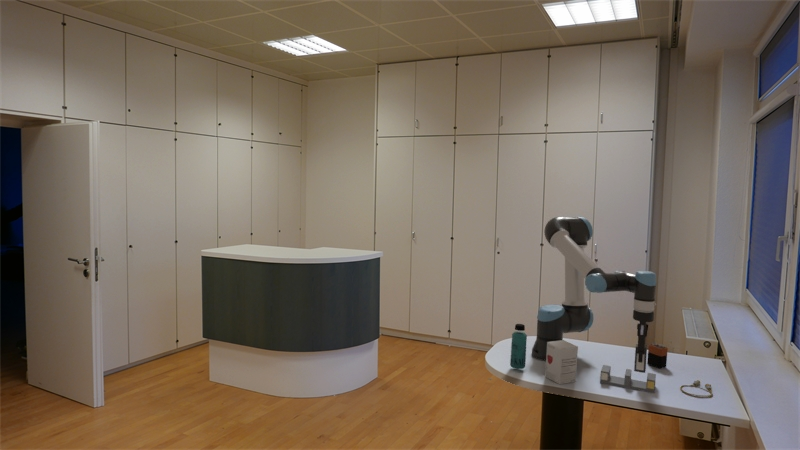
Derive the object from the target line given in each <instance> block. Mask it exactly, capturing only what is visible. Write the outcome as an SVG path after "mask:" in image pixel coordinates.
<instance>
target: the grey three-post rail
mask: <svg viewBox="0 0 800 450" xmlns="http://www.w3.org/2000/svg"><path fill="white" fill-rule="evenodd" d="M611 368H612V366H611V365H607V364H603V365H602V366H601V370H600V381H599V383H600V384H605V385H609V386H616V387H621V388H626V389H631V390H636V391H643V392H647V393H652V394H655V393H656V391H655V390H656V379H657V378H656V376H657V374H656V373H653V372H652V373H651V372H647V376H646V381H642V380H637V379H632V369H628V368H626V369H625V370H626V371H625V373H624V377H621V376H616V375H611V371H612V370H611Z"/></svg>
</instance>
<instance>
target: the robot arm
mask: <svg viewBox="0 0 800 450" xmlns="http://www.w3.org/2000/svg"><path fill="white" fill-rule="evenodd" d="M593 233H594V230H593V226H592V224H591V222H590V221H589V220H588V218H587V217H586V218H585V217H581V216H556V217H552V218H551V219H549V220H548V221H547V222H546V225H545V226H544V237H545V240H546V241H547V243H548V244H549V245H550V246H551V247H552V248H555V249H557V250H558V251H559V252H560V254H562V256H563V257H564V300H563V301H562V302H561V305H560V304H545V305H543V306H540V307H539V308H538V310H537V317H536V318H537V322H536V323H537V325H536V339H535V341H534V344H533V346H532V348H531V355H532V357H533V358H536V359H537V360H541V361H545V362H546V354H547V342H551V341H560V340H564V334H570V333H582V332H586V331H588V330H589V329H590V328H591V327H592V326H593V323H594V313H593V310H592V308H590V307H588V306H589V304H588V303H587V301H586V300H585V286H586V289H587V291H588V292H590V293H595V294H596V293H597V294H602V293H610V292H629V293H633V294H634V295H633V311H632V319H633V320H635V321H638V322H637V325H636V330H637V333H636V334H637V335H636V336H637V344H638V349H637V352H635V353H636V354H637V362H636V369H637V370H644V356H645V352H644V349H645V345H646V338H647V336H648V330H649V324H648V323H652V322H654V320H655V319H654V318H655V312H654V311H655V306H657V303H656V290H657V274H656V273H655V272H653V271H650V270H649V271H648V270H637V271H636V272H635V273H631V272H628V271H624V270H615V271H613V272H608V273H607V272H605V271H604V270H603V269H602V268H601V267H600V266H599V265H598V264H597V263H596V262H595V261H594V260H593V258H591V257H590V256H589V255H588V254H587V253H586V252H585V248H587V246H588V242H589V241H590V240H591V239H592V237H593ZM635 353H634V354H635Z"/></svg>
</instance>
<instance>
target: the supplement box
mask: <svg viewBox="0 0 800 450" xmlns="http://www.w3.org/2000/svg"><path fill="white" fill-rule="evenodd" d="M578 351H579V346H578V345H576V344H573V343H571V342H570V341H566V340H564V339H563V340H560V341H551V342H547V354H546V361H545V373H544V376H545V378H548V379H549V380H551V381H552V382H554V383H556V384H558V385H563V384H567V383H574V382H576V380H577V379H576V378H577V367H578V366H577V365H578V364H577V363H578V353H579V352H578Z"/></svg>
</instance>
